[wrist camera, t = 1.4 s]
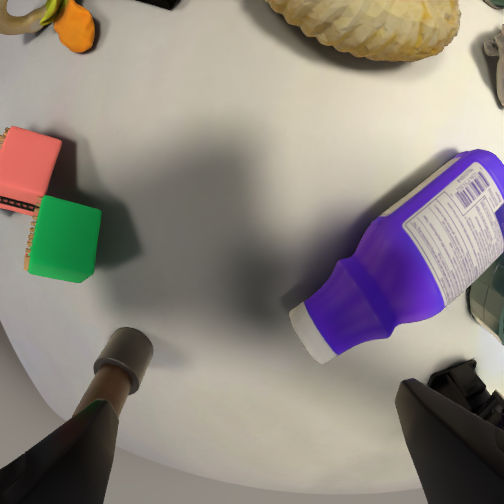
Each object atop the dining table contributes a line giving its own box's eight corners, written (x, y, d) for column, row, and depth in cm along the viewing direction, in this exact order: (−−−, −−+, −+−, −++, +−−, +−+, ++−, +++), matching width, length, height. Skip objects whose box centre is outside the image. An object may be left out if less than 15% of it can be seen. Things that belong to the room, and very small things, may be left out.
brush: (158, 363, 22) (126, 449, 13) (120, 362, 22) (80, 441, 13) (146, 326, 21) (102, 412, 12) (106, 327, 21) (54, 404, 12)
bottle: (453, 147, 17) (275, 284, 20) (494, 132, 12) (269, 310, 15) (494, 225, 17) (331, 358, 21) (538, 230, 12) (341, 401, 15)
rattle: (25, 91, 14) (-86, 79, 4) (25, 17, 12) (-60, -15, 1) (102, 45, 14) (-5, -18, 3) (97, -27, 11) (25, -94, 1)
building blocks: (85, 200, 22) (-31, 169, 14) (116, 154, 17) (-37, 108, 9) (71, 290, 20) (-57, 262, 12) (96, 274, 14) (-87, 230, 6)
